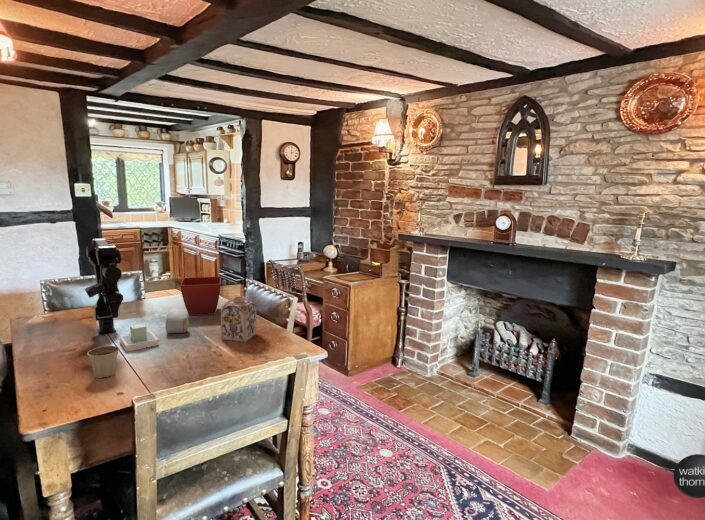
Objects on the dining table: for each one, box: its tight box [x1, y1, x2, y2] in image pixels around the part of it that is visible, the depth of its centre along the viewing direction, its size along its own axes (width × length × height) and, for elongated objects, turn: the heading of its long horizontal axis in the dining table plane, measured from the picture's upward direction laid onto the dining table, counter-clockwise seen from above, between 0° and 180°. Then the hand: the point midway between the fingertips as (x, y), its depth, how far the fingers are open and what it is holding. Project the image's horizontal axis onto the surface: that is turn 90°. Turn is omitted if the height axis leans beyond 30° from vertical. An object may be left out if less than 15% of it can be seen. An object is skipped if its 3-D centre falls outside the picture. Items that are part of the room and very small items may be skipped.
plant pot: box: [179, 276, 222, 316], centre depth 216 cm, size 19×19×17 cm
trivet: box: [119, 330, 160, 352], centre depth 171 cm, size 12×12×3 cm
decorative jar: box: [220, 295, 258, 343], centre depth 181 cm, size 12×12×18 cm
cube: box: [129, 323, 148, 341], centre depth 170 cm, size 5×5×5 cm
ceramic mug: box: [165, 315, 189, 334], centre depth 187 cm, size 11×8×8 cm
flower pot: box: [86, 345, 120, 379], centre depth 142 cm, size 9×9×9 cm
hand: (111, 313), depth 171 cm, fingers open, 9 cm apart
